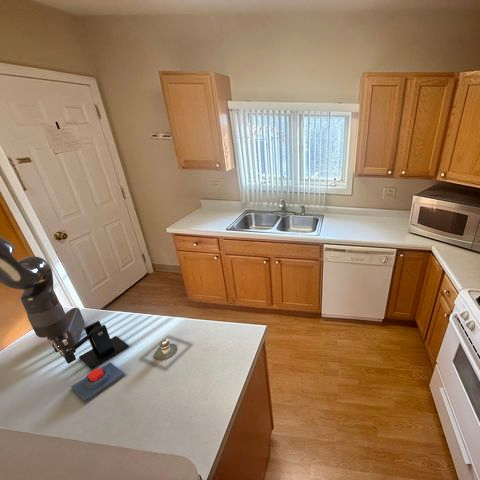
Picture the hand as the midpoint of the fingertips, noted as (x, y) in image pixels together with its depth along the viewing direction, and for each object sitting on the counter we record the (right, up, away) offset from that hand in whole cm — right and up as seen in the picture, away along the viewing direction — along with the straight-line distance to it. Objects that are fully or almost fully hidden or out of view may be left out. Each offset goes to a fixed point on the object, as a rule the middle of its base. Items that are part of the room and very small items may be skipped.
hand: (65, 355), depth 85 cm
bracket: (+4, -4, +10) cm, 12 cm away
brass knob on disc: (+27, -4, +12) cm, 30 cm away
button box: (+12, -9, 0) cm, 14 cm away
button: (+12, -6, -1) cm, 13 cm away
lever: (+3, +3, +4) cm, 6 cm away
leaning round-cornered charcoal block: (-12, 0, +17) cm, 21 cm away
